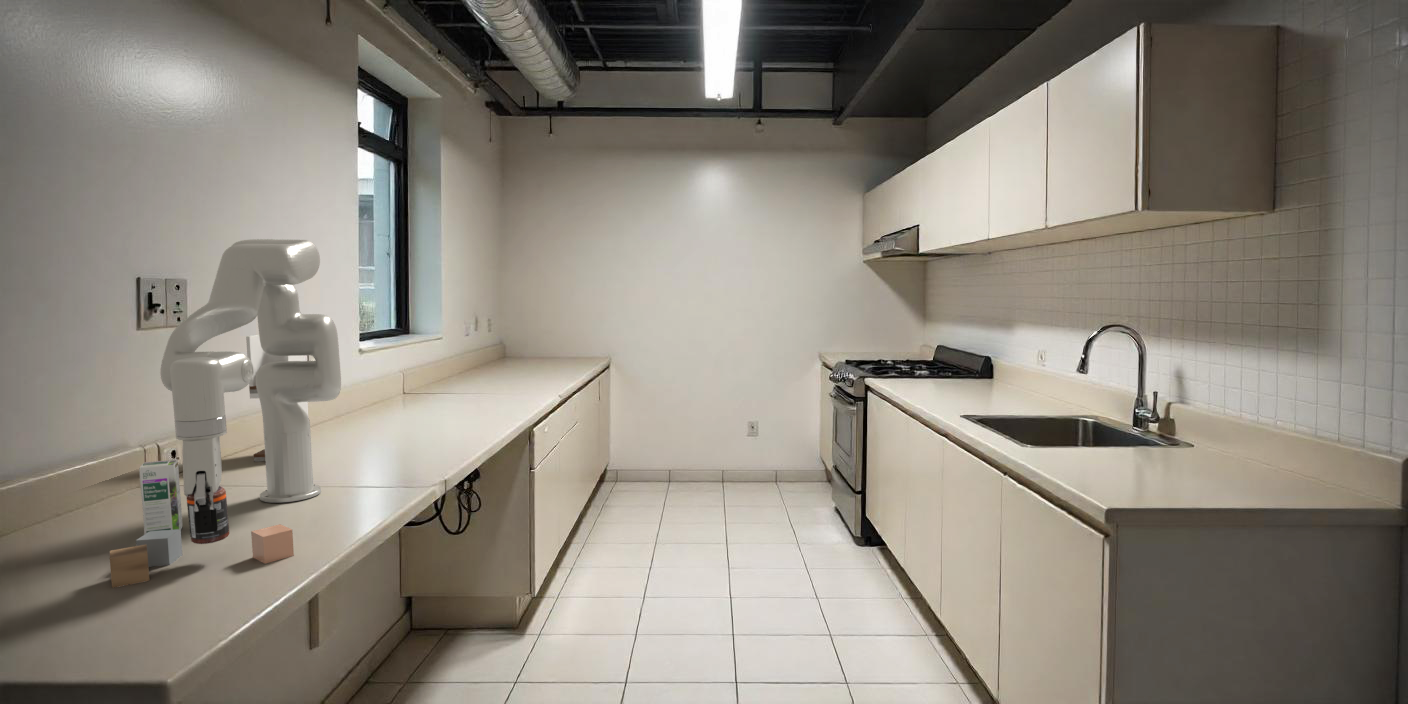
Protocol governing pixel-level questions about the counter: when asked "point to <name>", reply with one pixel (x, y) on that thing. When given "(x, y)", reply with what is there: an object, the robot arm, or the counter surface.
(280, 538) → the terracotta block
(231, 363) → the robot arm
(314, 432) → the counter surface
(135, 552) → the walnut block
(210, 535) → the supplement bottle
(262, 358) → the display case
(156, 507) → the syrup box
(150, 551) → the slate grey block
